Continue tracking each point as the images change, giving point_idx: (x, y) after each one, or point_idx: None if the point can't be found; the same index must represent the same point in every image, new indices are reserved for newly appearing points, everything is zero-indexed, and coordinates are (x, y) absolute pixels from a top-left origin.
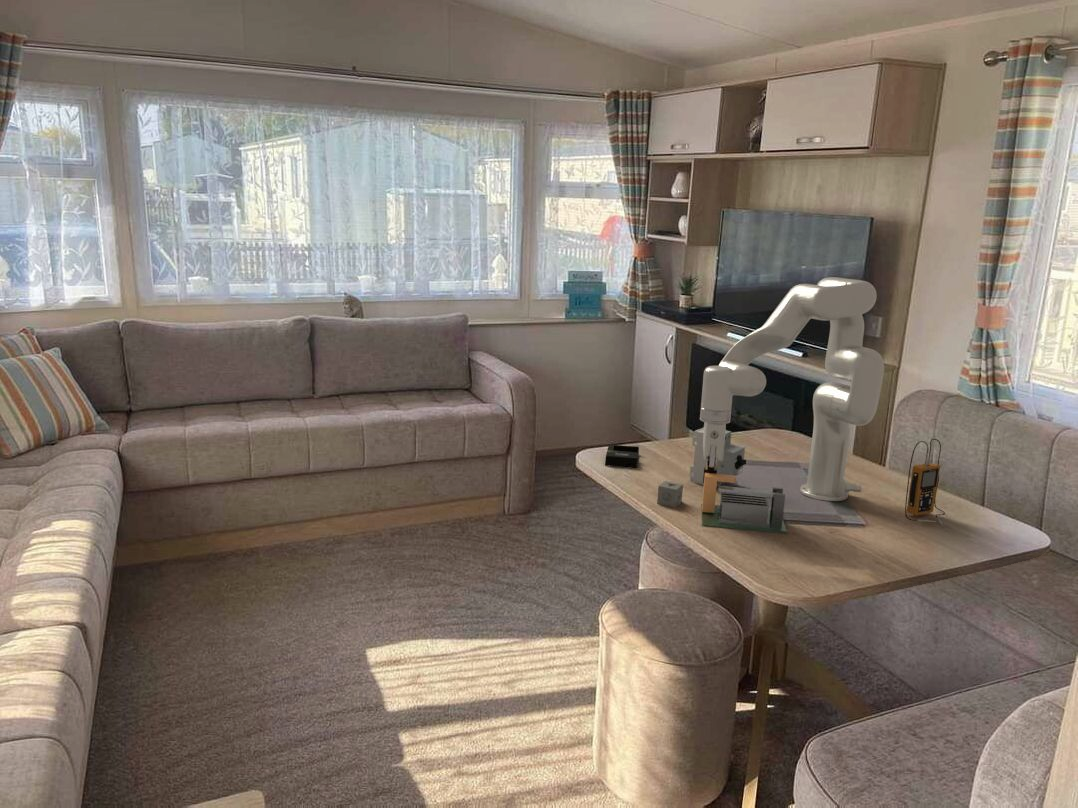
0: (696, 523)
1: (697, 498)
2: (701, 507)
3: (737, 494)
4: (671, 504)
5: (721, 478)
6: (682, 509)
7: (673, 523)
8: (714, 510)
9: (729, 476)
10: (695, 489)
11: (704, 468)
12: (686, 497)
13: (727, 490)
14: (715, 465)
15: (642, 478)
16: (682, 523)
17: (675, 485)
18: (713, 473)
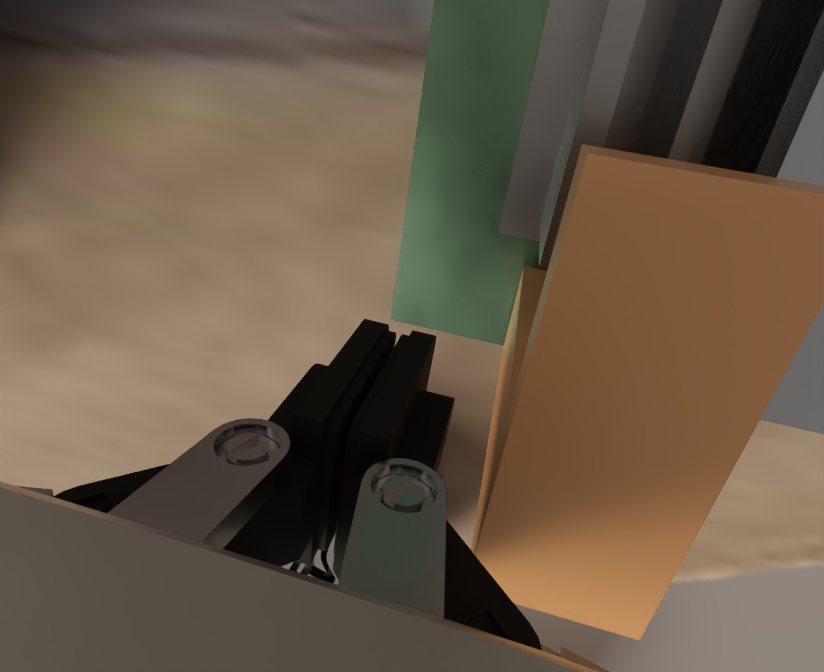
0: (756, 431)
1: (244, 300)
2: (447, 329)
3: (615, 63)
4: None
5: (737, 446)
6: (474, 444)
7: (734, 558)
8: (529, 255)
9: (670, 289)
10: (75, 270)
11: (311, 560)
12: (245, 365)
13: None
14: (442, 582)
15: None
16: (742, 512)
17: (320, 550)
18: (431, 466)
